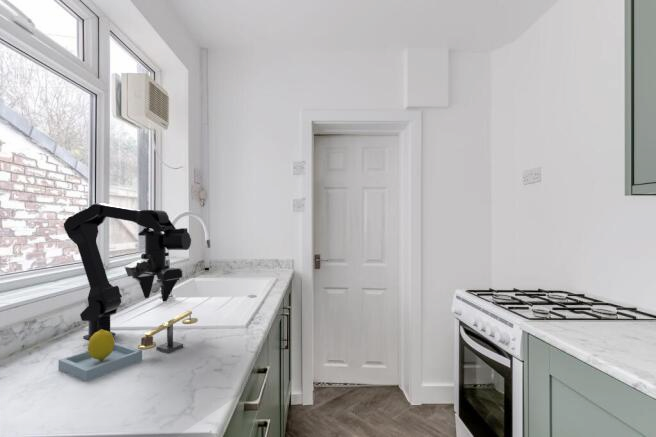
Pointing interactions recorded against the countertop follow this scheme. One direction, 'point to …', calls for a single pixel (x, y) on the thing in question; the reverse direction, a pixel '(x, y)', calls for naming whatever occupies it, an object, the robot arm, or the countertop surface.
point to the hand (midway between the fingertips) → (155, 299)
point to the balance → (170, 345)
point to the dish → (99, 362)
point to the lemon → (101, 345)
